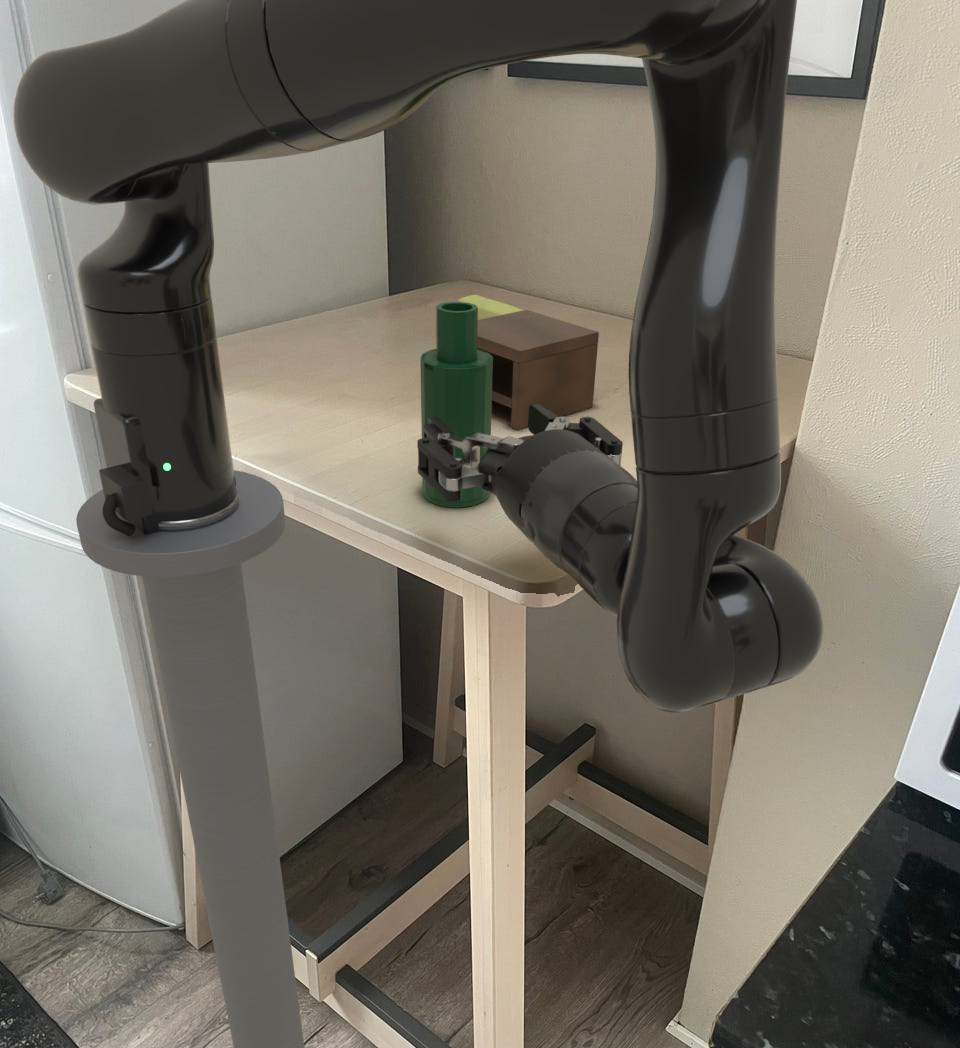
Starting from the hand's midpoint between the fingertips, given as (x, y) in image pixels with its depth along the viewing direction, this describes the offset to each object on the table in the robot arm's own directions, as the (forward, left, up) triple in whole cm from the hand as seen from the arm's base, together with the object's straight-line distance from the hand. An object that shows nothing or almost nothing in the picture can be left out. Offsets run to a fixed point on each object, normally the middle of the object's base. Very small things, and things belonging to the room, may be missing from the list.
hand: (482, 422), depth 77 cm
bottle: (+2, +5, -9) cm, 10 cm away
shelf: (+22, +19, -9) cm, 30 cm away
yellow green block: (+37, +37, -9) cm, 53 cm away
